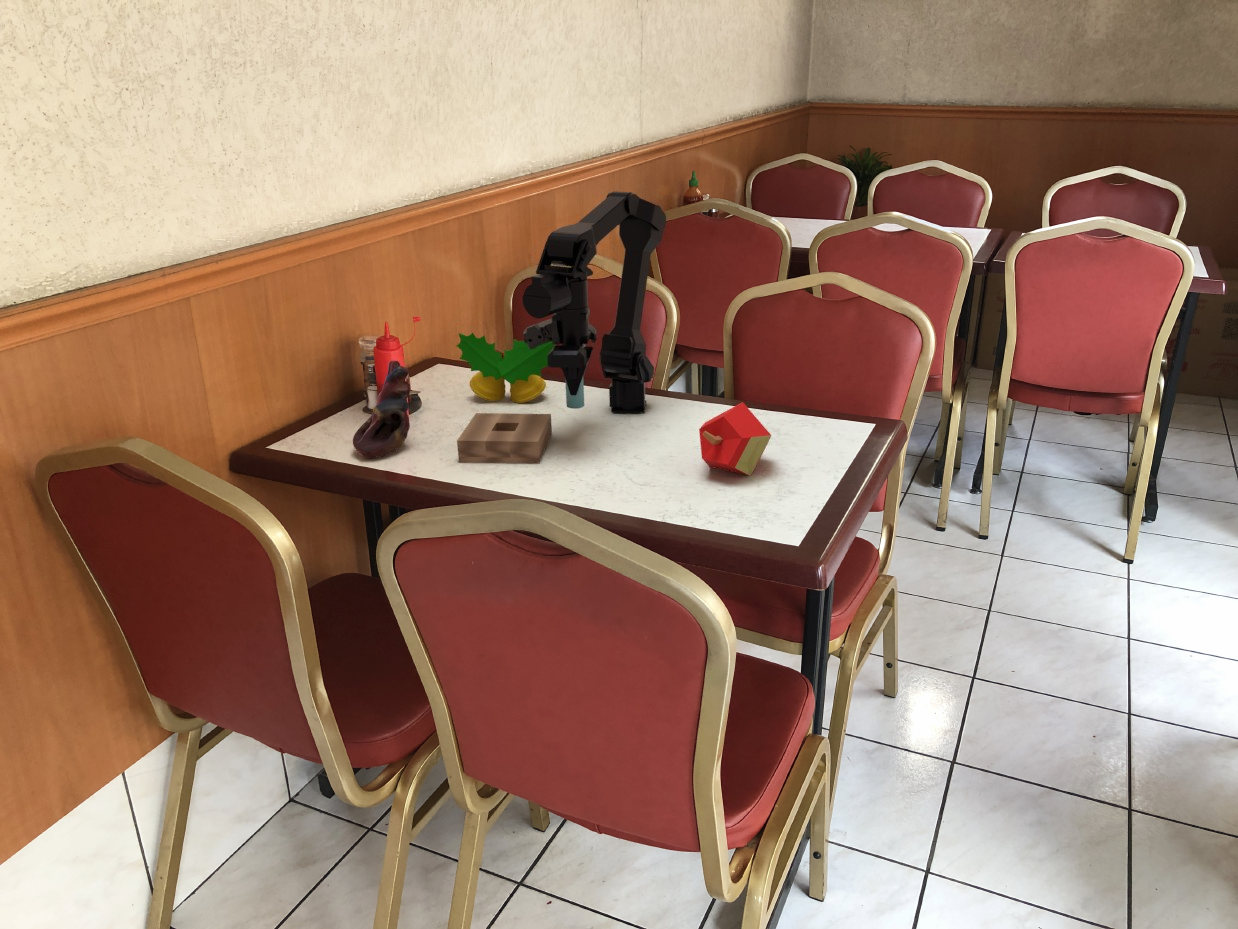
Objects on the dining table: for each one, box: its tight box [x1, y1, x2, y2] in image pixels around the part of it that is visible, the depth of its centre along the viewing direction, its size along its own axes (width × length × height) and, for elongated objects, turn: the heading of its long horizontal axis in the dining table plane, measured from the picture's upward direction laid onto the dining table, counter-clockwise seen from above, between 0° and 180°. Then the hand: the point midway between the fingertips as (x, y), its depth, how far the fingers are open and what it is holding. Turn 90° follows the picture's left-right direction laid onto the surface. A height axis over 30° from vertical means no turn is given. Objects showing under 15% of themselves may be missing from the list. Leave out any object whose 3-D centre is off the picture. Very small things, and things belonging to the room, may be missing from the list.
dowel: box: [564, 377, 585, 410], centre depth 172 cm, size 3×3×8 cm
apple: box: [698, 401, 772, 477], centre depth 159 cm, size 12×12×15 cm
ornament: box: [455, 332, 555, 404], centre depth 195 cm, size 21×8×15 cm, turn 84°
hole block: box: [456, 412, 553, 465], centre depth 172 cm, size 14×14×4 cm
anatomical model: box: [352, 360, 411, 459], centre depth 171 cm, size 9×13×15 cm
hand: (574, 392), depth 172 cm, fingers closed on dowel, 3 cm apart
